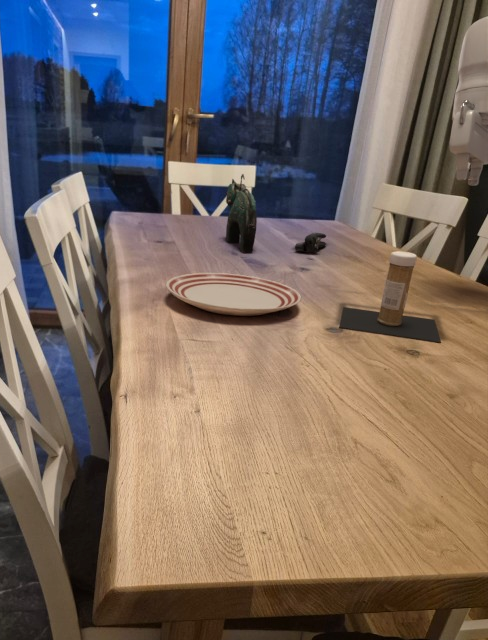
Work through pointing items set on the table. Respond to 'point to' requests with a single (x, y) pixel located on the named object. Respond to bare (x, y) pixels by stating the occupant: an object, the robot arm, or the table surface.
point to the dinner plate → (232, 293)
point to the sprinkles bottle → (396, 288)
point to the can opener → (311, 243)
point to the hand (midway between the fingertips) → (467, 182)
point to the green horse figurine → (241, 216)
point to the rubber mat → (407, 329)
